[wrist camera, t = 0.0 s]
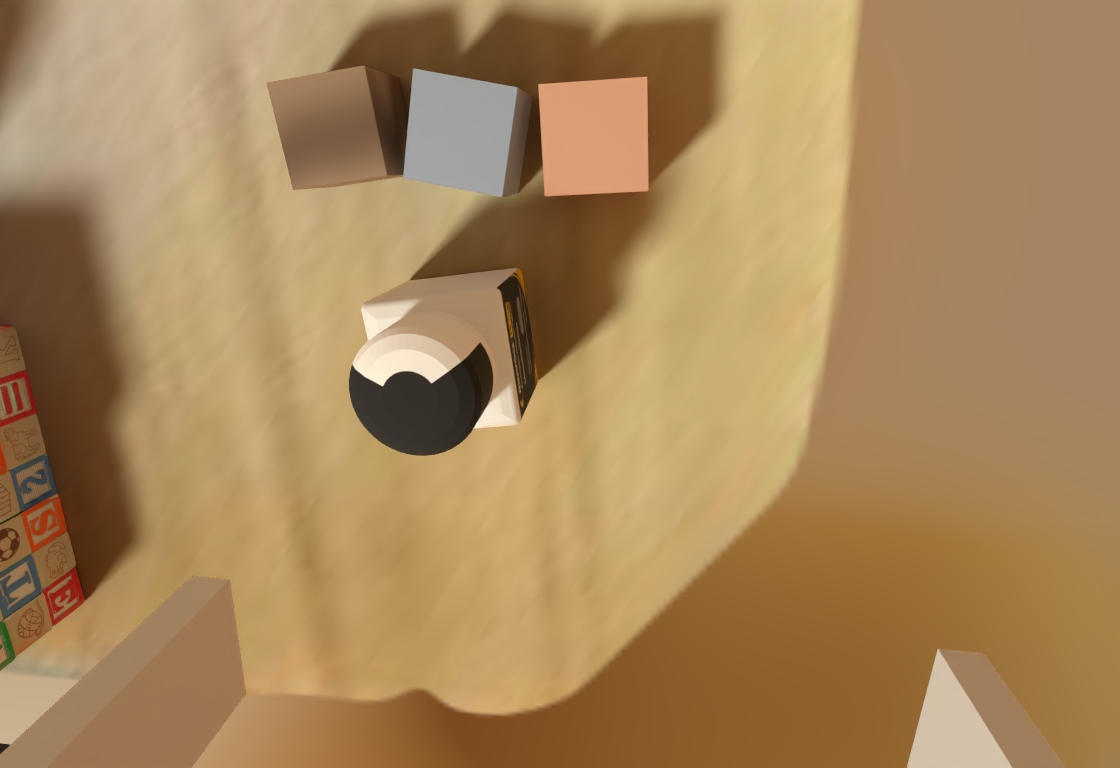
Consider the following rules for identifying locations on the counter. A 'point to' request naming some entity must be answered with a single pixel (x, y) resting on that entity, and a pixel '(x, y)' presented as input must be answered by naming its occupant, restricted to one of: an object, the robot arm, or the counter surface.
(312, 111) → the walnut cube
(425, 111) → the slate blue cube
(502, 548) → the counter surface
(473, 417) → the medicine bottle
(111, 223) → the counter surface
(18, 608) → the stack of blocks
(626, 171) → the terracotta cube
